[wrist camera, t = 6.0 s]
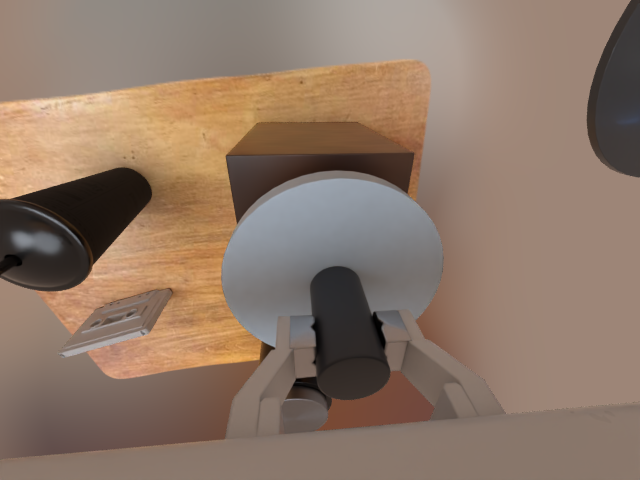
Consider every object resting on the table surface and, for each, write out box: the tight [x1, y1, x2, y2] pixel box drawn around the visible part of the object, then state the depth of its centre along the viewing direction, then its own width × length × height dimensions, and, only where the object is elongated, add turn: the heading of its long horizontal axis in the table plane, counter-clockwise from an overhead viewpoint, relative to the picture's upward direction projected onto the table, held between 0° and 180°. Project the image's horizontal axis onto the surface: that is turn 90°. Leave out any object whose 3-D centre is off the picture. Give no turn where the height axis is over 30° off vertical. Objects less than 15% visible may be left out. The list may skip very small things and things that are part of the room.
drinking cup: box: [0, 168, 152, 291], centre depth 22 cm, size 8×8×20 cm
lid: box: [221, 171, 444, 400], centre depth 12 cm, size 11×11×6 cm
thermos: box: [259, 341, 332, 434], centre depth 37 cm, size 9×9×16 cm
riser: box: [226, 122, 414, 224], centre depth 25 cm, size 11×11×16 cm
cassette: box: [57, 288, 172, 358], centre depth 36 cm, size 12×2×8 cm, turn 106°
